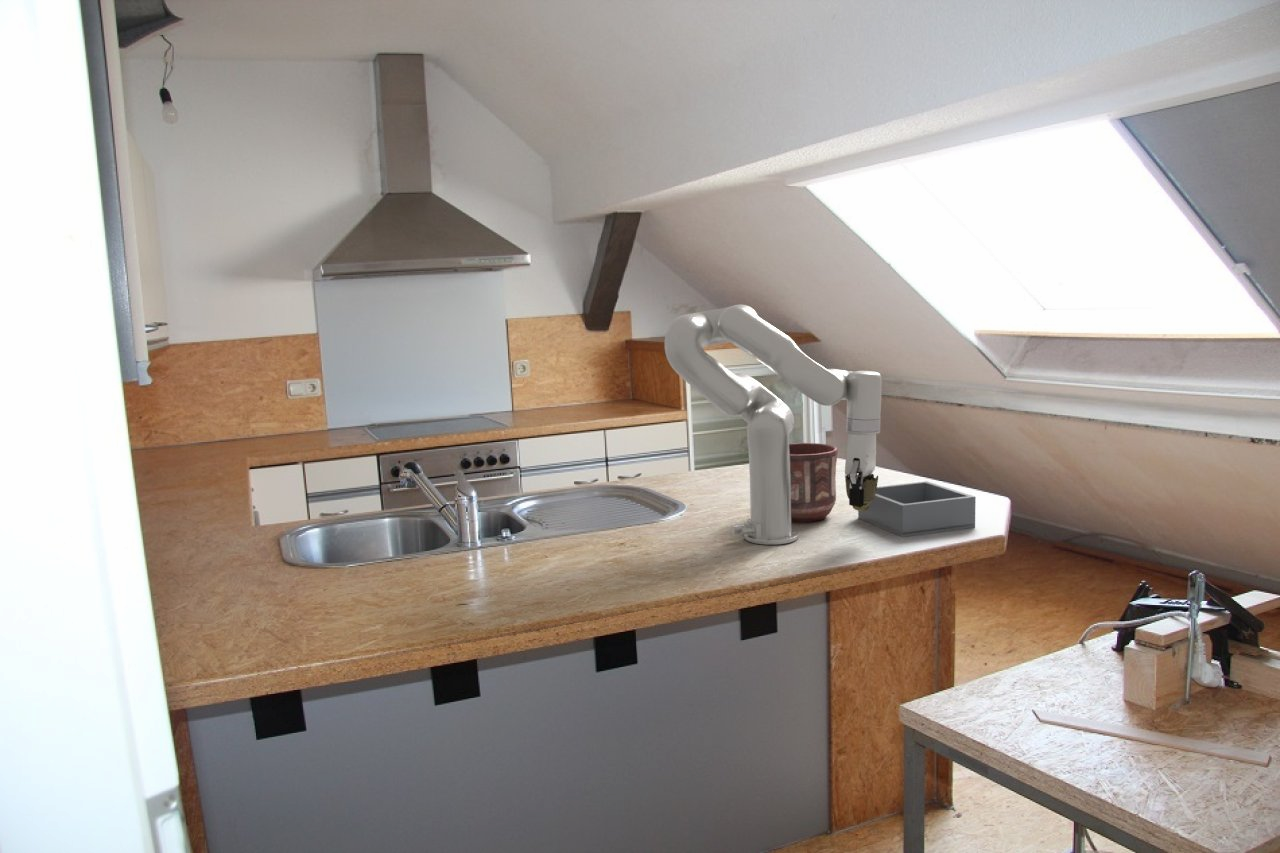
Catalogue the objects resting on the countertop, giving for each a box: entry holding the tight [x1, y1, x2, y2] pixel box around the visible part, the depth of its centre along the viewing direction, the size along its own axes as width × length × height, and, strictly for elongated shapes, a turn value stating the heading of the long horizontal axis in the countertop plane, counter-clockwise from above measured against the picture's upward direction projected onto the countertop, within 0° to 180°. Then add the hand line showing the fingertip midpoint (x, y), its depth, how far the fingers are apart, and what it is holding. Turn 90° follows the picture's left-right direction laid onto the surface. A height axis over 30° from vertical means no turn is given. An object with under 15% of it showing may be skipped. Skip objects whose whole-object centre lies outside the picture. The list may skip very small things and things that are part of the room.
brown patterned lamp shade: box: [844, 473, 879, 511], centre depth 221 cm, size 8×7×8 cm
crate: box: [857, 480, 976, 538], centre depth 237 cm, size 20×20×8 cm
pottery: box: [789, 442, 839, 524], centre depth 246 cm, size 18×18×18 cm
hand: (860, 501), depth 221 cm, fingers closed on brown patterned lamp shade, 7 cm apart
